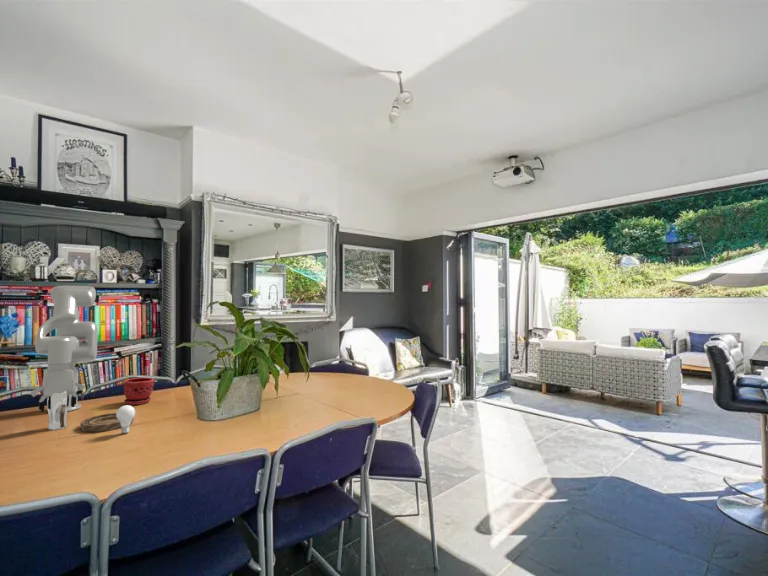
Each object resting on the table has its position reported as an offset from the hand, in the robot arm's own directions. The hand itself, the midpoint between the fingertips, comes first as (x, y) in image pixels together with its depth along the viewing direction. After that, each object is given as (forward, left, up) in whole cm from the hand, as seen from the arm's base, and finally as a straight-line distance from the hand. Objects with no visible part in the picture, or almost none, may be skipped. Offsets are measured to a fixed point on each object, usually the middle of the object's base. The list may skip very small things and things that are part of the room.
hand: (57, 409), depth 158 cm
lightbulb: (+27, +17, -8) cm, 33 cm away
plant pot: (-21, +35, -8) cm, 42 cm away
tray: (+10, +15, -8) cm, 20 cm away
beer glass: (-1, 0, -8) cm, 8 cm away
